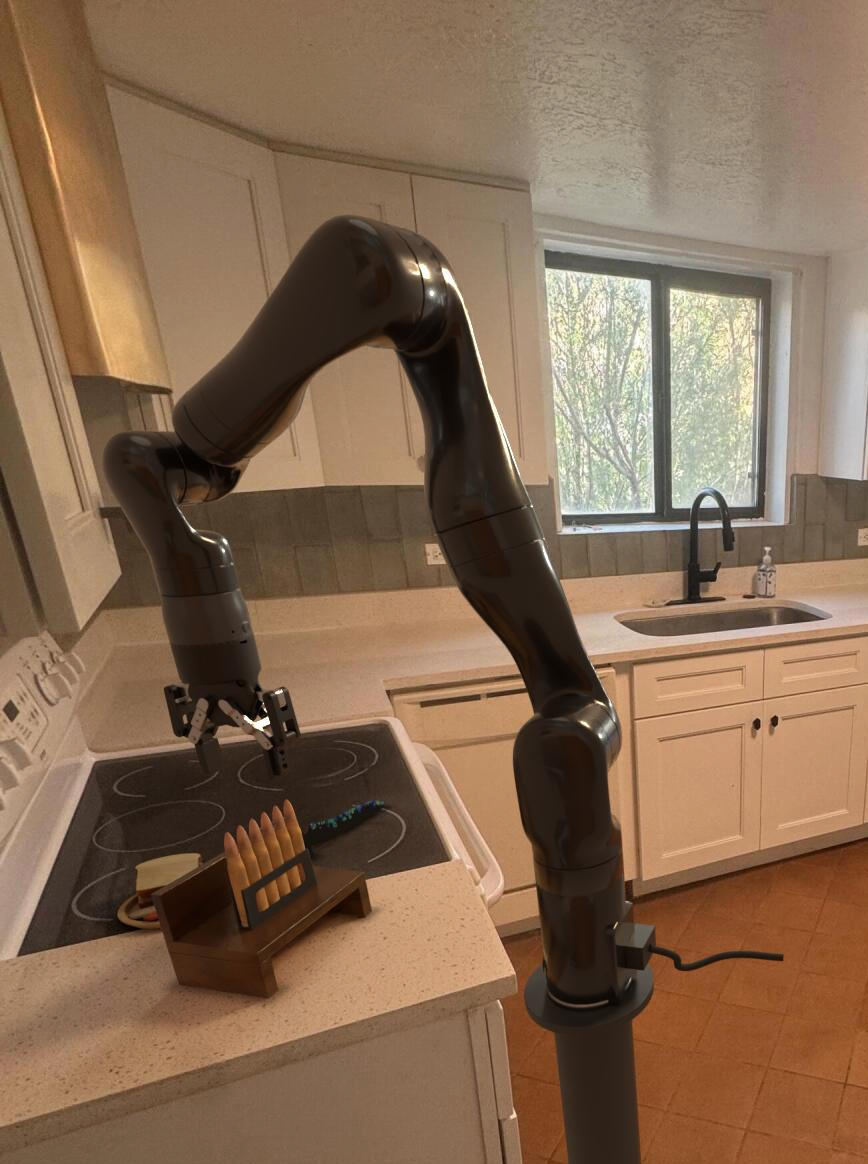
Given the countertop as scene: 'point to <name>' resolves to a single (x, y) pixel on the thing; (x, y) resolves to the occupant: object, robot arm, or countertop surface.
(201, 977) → the wooden bench
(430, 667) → the countertop surface
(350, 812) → the knife
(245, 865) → the ammunition clip
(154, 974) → the countertop surface
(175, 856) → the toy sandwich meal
